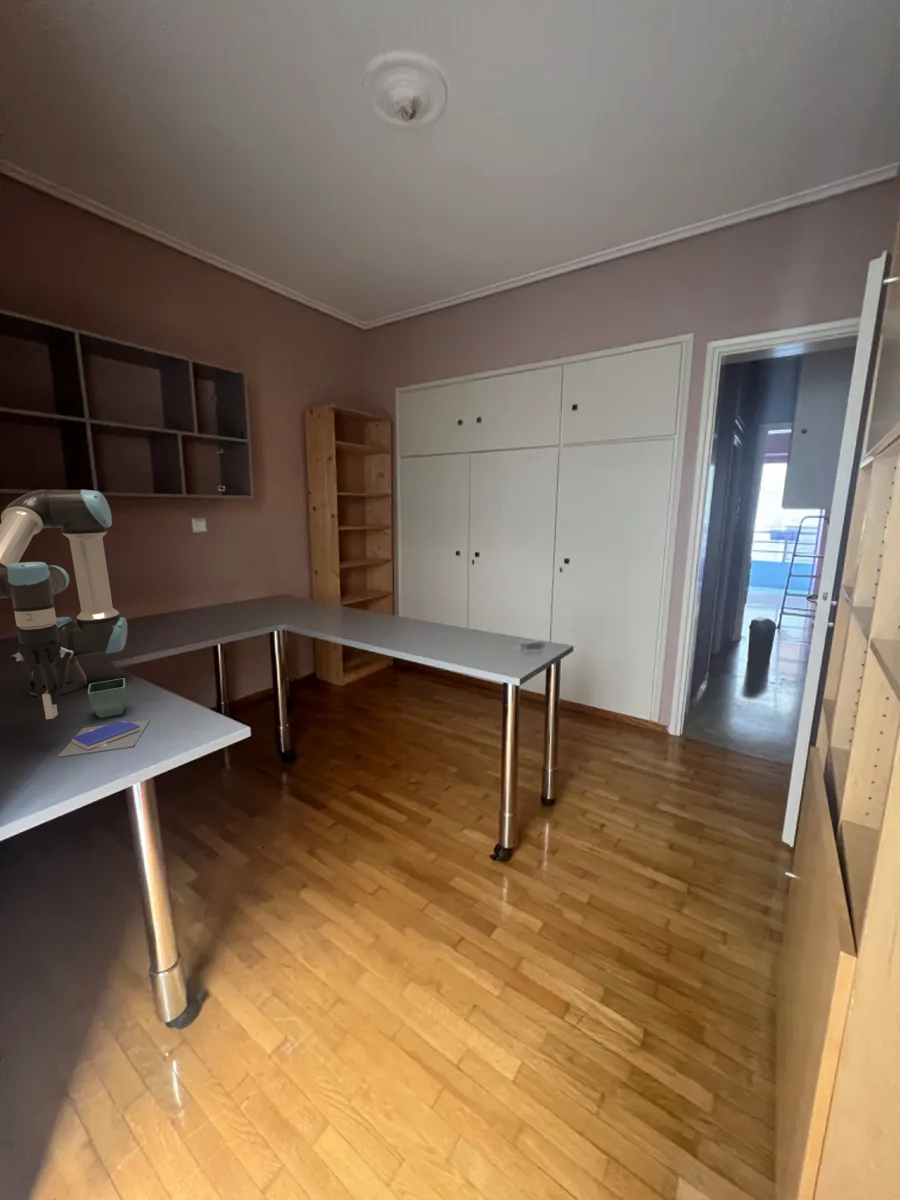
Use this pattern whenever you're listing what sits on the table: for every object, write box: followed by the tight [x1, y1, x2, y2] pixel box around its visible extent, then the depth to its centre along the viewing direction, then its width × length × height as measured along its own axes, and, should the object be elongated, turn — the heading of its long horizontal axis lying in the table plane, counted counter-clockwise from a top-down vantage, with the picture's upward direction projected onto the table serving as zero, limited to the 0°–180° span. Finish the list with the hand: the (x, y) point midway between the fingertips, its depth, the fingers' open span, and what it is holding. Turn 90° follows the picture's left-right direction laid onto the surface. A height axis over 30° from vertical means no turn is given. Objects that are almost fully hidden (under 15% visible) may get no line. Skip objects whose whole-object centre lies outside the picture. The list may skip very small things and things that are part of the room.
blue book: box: [71, 719, 140, 750], centre depth 128 cm, size 2×8×12 cm
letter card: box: [57, 719, 151, 758], centre depth 128 cm, size 16×16×1 cm
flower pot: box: [87, 677, 127, 719], centre depth 142 cm, size 9×9×9 cm
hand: (52, 716), depth 123 cm, fingers closed
